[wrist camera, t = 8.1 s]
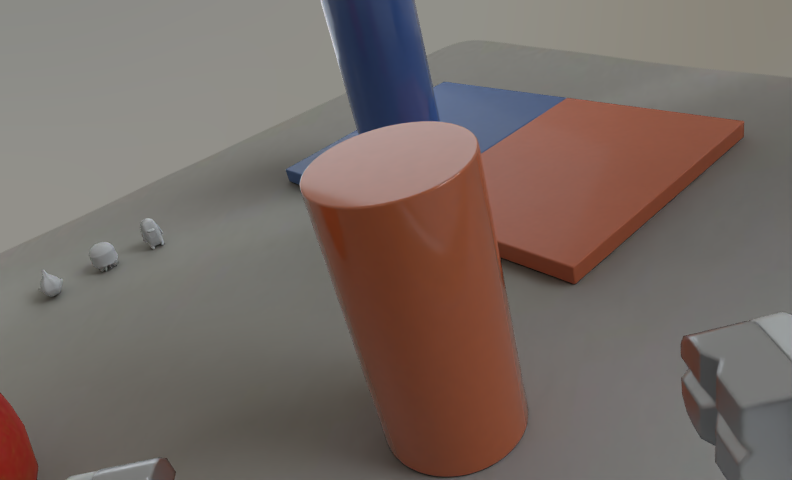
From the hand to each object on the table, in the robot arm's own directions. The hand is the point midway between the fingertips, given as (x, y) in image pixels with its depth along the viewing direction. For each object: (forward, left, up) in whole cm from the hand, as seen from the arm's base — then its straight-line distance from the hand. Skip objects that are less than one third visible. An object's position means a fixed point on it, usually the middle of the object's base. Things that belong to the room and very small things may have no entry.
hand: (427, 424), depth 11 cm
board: (+22, -24, -11) cm, 34 cm away
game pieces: (+36, -3, -12) cm, 38 cm away
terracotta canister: (+9, -7, -11) cm, 16 cm away
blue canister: (+28, -22, -10) cm, 37 cm away
